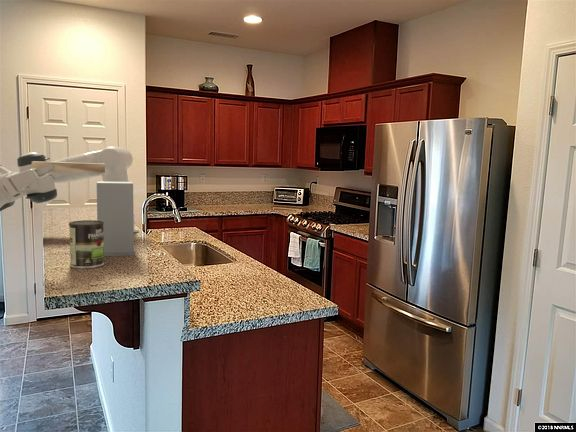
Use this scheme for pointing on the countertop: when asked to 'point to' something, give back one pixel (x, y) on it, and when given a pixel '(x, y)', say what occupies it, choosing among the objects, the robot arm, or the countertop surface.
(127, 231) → the upright
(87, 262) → the coffee can
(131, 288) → the countertop surface
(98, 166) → the rail
